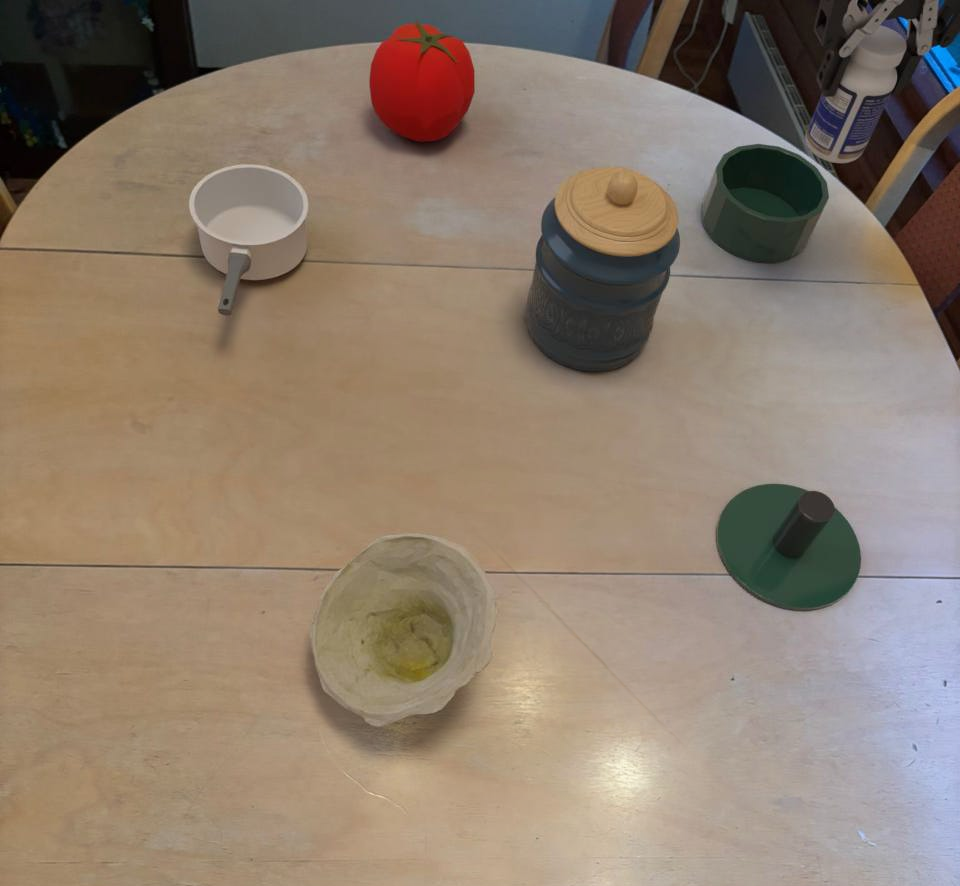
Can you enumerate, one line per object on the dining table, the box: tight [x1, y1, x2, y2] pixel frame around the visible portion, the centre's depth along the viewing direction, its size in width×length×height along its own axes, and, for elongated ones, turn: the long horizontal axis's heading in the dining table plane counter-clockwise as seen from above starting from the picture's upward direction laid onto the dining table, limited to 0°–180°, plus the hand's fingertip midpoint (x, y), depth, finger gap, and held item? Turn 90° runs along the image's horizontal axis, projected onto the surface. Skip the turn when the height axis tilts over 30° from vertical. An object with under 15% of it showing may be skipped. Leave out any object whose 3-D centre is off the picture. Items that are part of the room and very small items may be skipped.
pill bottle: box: [804, 25, 907, 164], centre depth 85 cm, size 6×6×10 cm
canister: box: [525, 166, 681, 372], centre depth 90 cm, size 13×13×18 cm
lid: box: [715, 483, 862, 611], centre depth 84 cm, size 13×13×7 cm
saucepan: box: [188, 163, 309, 317], centre depth 93 cm, size 12×20×6 cm, turn 177°
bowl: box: [308, 532, 498, 727], centre depth 74 cm, size 15×14×10 cm
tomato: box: [368, 18, 476, 142], centre depth 105 cm, size 12×12×10 cm
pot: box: [701, 143, 830, 264], centre depth 105 cm, size 12×12×5 cm
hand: (858, 89), depth 85 cm, fingers closed on pill bottle, 5 cm apart
